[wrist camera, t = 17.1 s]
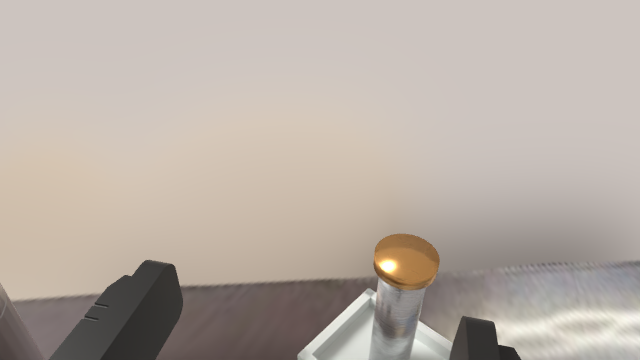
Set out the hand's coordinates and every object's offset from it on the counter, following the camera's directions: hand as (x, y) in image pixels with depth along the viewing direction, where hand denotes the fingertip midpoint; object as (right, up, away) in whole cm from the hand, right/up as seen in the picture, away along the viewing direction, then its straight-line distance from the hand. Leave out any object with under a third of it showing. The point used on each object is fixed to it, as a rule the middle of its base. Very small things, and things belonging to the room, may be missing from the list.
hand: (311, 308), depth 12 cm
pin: (+7, -16, +32) cm, 37 cm away
